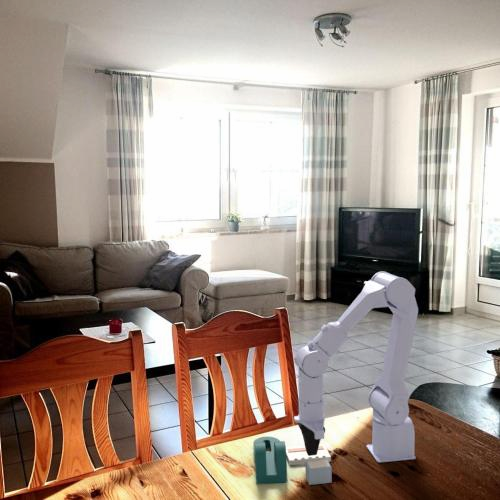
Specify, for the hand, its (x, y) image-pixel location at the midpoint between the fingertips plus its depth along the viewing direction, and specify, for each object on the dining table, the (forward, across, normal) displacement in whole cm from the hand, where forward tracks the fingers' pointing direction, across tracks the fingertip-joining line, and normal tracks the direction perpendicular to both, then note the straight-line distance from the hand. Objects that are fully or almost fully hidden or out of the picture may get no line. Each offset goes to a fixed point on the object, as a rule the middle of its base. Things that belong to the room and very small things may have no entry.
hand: (311, 453), depth 127 cm
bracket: (+3, -3, -10) cm, 11 cm away
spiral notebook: (+3, -4, 0) cm, 4 cm away
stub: (+3, +7, 0) cm, 7 cm away
